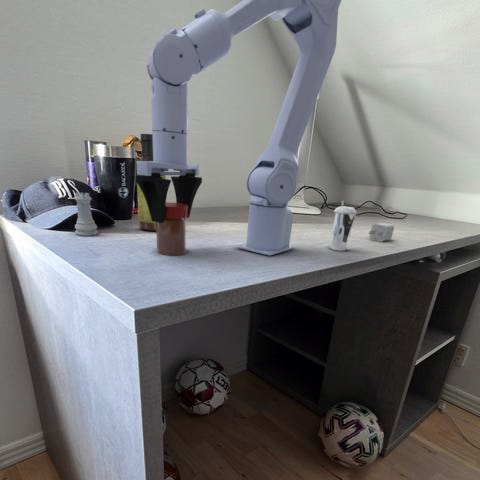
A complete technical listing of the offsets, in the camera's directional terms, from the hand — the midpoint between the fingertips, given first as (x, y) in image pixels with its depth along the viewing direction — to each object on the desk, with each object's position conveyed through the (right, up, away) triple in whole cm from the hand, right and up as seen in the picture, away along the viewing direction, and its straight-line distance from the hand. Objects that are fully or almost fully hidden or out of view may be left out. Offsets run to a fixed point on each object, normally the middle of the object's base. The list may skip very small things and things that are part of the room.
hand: (171, 219), depth 62 cm
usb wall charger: (+48, +3, +29) cm, 56 cm away
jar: (0, -5, +2) cm, 6 cm away
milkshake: (+34, -2, +15) cm, 37 cm away
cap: (0, +2, -1) cm, 2 cm away
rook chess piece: (-20, 0, +10) cm, 22 cm away
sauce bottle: (-8, +3, +20) cm, 22 cm away
